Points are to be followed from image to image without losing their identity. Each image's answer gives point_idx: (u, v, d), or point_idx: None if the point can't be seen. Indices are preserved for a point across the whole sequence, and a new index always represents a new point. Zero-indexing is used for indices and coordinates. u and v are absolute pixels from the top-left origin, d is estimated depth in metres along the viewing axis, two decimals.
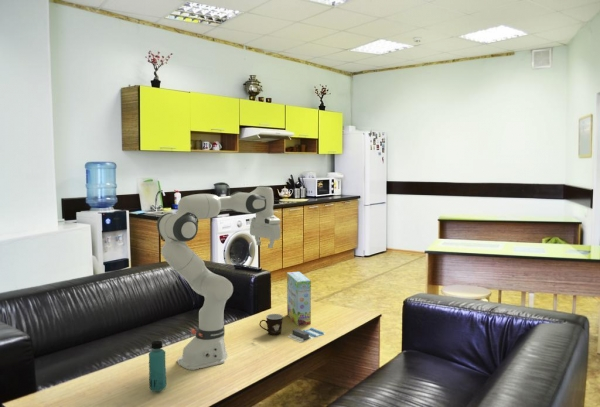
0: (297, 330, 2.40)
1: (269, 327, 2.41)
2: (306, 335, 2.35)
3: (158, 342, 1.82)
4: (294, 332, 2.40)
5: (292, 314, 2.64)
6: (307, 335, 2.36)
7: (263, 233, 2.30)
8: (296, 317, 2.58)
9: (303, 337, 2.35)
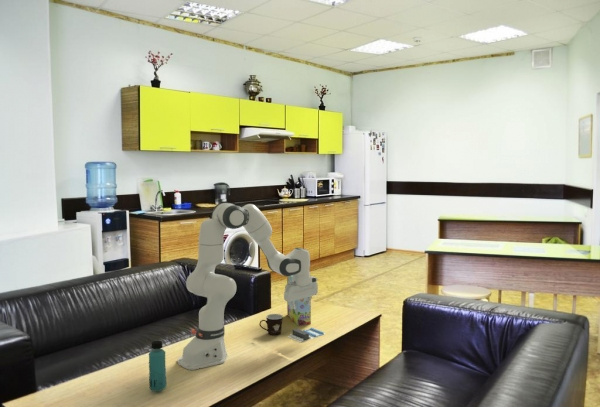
0: (297, 330, 2.40)
1: (269, 327, 2.41)
2: (306, 335, 2.35)
3: (158, 342, 1.82)
4: (294, 332, 2.40)
5: (292, 314, 2.64)
6: (307, 335, 2.36)
7: (305, 293, 2.36)
8: (296, 317, 2.58)
9: (303, 337, 2.35)
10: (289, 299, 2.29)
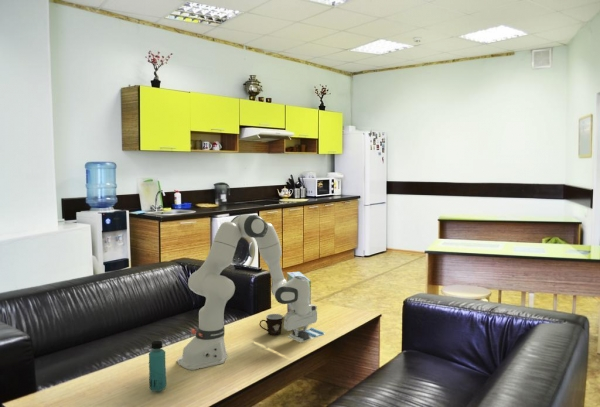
0: (297, 330, 2.40)
1: (269, 327, 2.41)
2: (306, 335, 2.35)
3: (158, 342, 1.82)
4: (294, 332, 2.40)
5: None
6: (307, 335, 2.36)
7: (304, 321, 2.38)
8: None
9: (303, 337, 2.35)
10: (289, 328, 2.31)
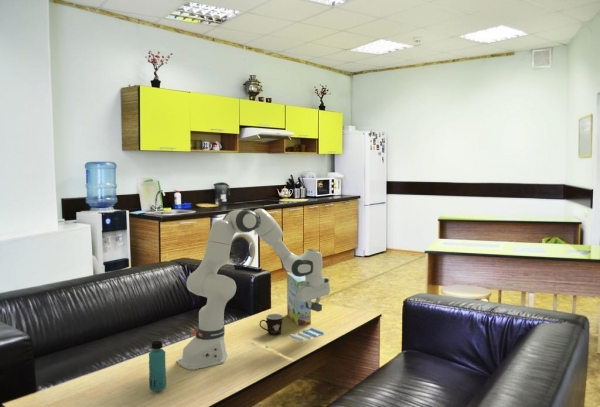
0: None
1: (269, 327, 2.41)
2: (319, 307, 2.40)
3: (158, 342, 1.82)
4: (307, 304, 2.45)
5: (292, 314, 2.64)
6: (320, 306, 2.41)
7: (317, 293, 2.43)
8: (296, 317, 2.58)
9: (316, 308, 2.40)
10: (302, 299, 2.36)
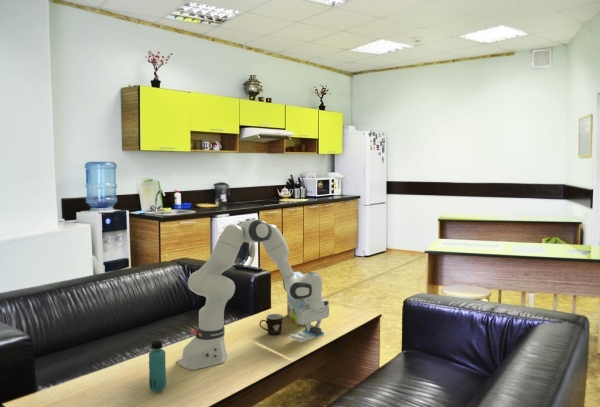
0: (310, 326, 2.46)
1: (269, 327, 2.41)
2: (319, 331, 2.41)
3: (158, 342, 1.82)
4: None
5: (292, 314, 2.64)
6: (320, 330, 2.42)
7: (317, 316, 2.44)
8: (296, 317, 2.58)
9: (316, 332, 2.41)
10: (302, 322, 2.37)
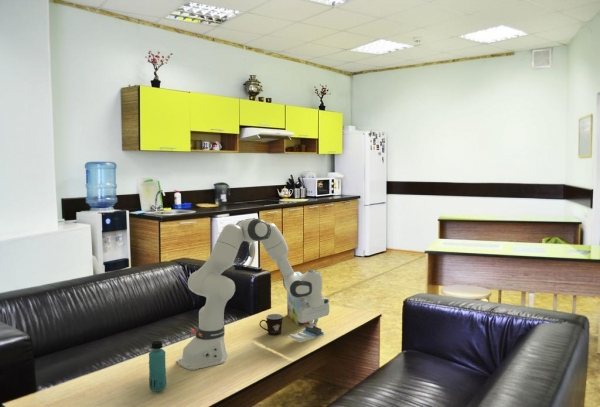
0: None
1: (269, 327, 2.41)
2: (319, 331, 2.41)
3: (158, 342, 1.82)
4: (307, 328, 2.46)
5: (292, 314, 2.64)
6: (320, 331, 2.42)
7: (317, 314, 2.44)
8: (296, 317, 2.58)
9: (316, 332, 2.41)
10: (302, 320, 2.37)
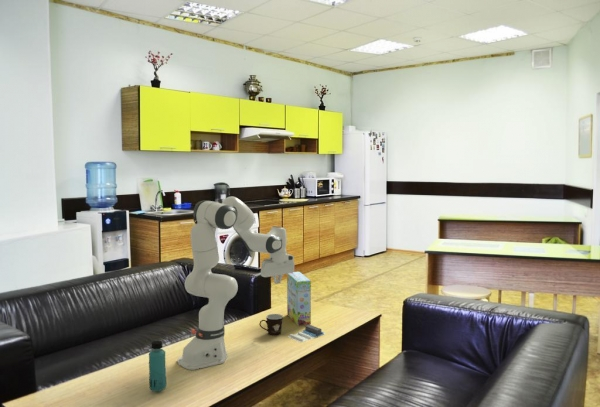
0: (310, 326, 2.46)
1: (269, 327, 2.41)
2: (319, 331, 2.41)
3: (158, 342, 1.82)
4: (307, 328, 2.46)
5: (292, 314, 2.64)
6: (320, 331, 2.42)
7: (281, 270, 2.46)
8: (296, 317, 2.58)
9: (316, 333, 2.41)
10: (265, 274, 2.39)
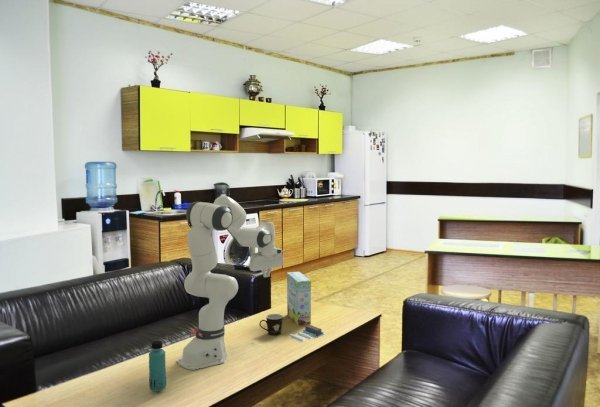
0: (310, 326, 2.46)
1: (269, 327, 2.41)
2: (319, 331, 2.41)
3: (158, 342, 1.82)
4: (307, 328, 2.46)
5: (292, 314, 2.64)
6: (320, 331, 2.42)
7: (270, 264, 2.47)
8: (296, 317, 2.58)
9: (316, 333, 2.41)
10: (254, 268, 2.40)
